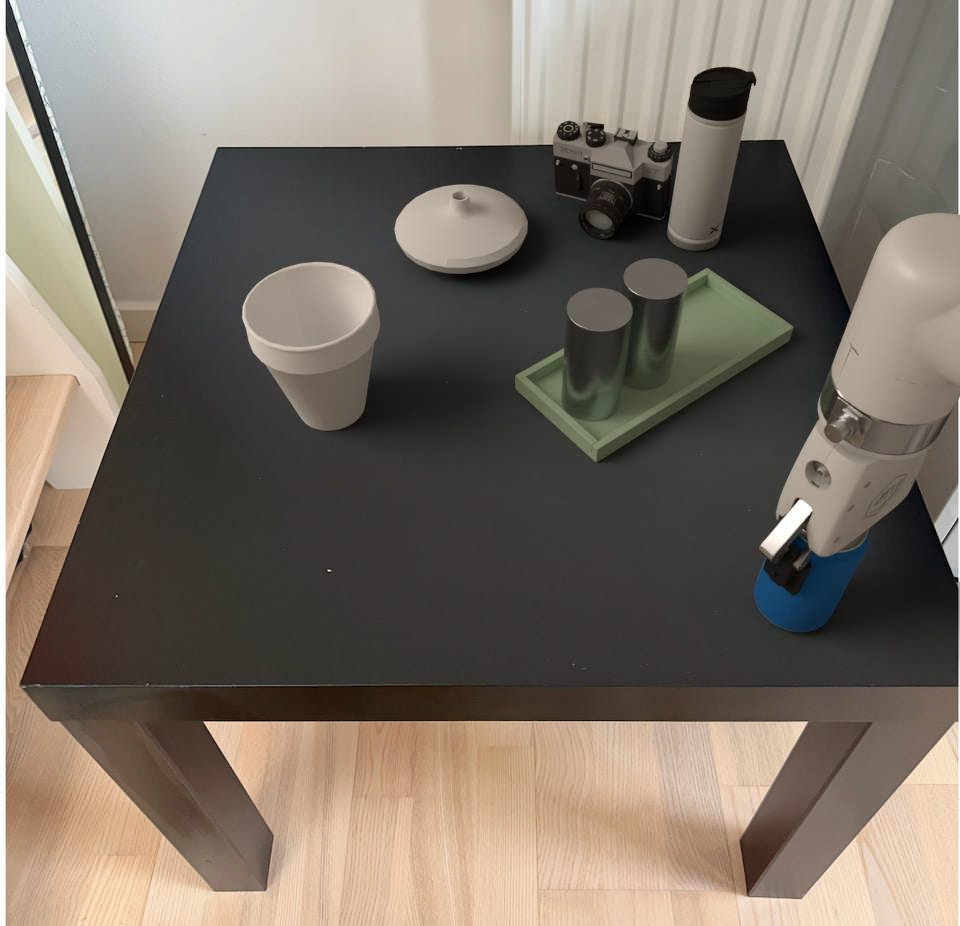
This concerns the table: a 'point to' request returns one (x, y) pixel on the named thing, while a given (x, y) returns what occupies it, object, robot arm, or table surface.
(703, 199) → the travel mug
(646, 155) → the camera
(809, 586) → the beverage can
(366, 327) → the white flower pot
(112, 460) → the table surface
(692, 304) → the tray
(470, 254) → the vase
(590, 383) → the can
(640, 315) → the can
